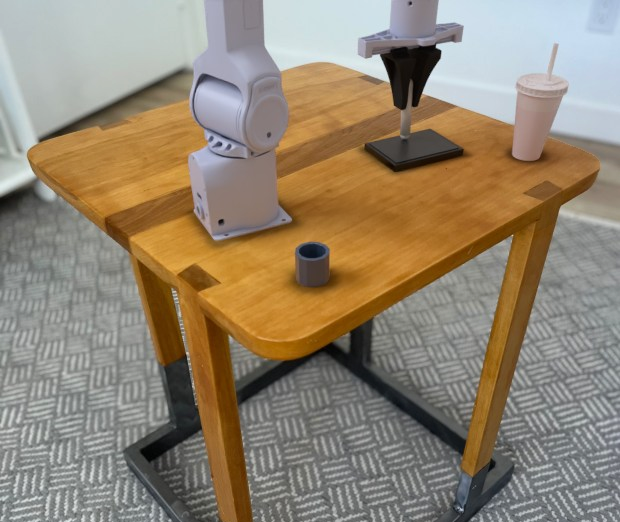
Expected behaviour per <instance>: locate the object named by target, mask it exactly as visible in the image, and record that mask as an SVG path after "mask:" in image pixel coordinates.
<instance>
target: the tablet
mask: <svg viewBox="0 0 620 522" xmlns="http://www.w3.org/2000/svg"><path fill="white" fill-rule="evenodd" d="M363 150H364V151H365V152H367V153H368V154H370V155H371V156H372V157H374V158H375V159H376V160H378V161H379V162H380V163H382V164H383V165H385V166H386V167H387V168H388V169H390V170H391V171H393V172H395V173H396V172H397V173H398V172H400V171H404V170H405V171H406V170H408V169H413V168H416V167H420V166H425V165H429V164H433V163H436V162H440V161H445V160H449V159H453V158H457V157H461V156H464V152H465V148H464V147H462V146H460V145H458V144H457V143H456V142H453V141H451V140H450V139H448V138H447V137H445V136H443V135H442V134H440V133H438V132H437V131H435V130H433V129H432V128H427V129H422V130H418V131H414V132H410V137H409V138H408V139H406V140H404V139H402V138H401V137H400V135H396V136H391V137H386V138H383V139H378V140H374V141H370V142H365V143H364V149H363Z"/></svg>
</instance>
